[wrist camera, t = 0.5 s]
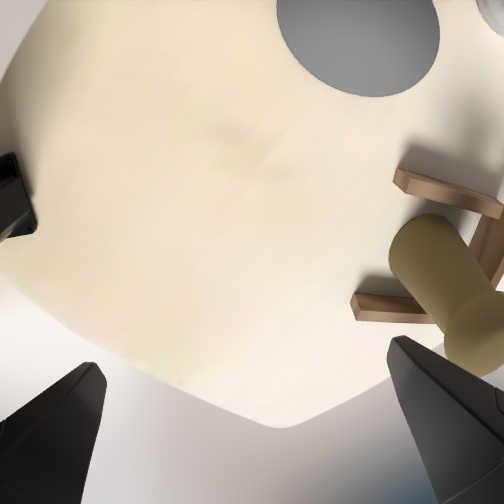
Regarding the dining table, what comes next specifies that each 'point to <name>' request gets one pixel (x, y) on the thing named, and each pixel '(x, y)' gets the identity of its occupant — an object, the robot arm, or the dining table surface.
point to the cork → (451, 291)
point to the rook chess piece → (493, 14)
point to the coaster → (362, 42)
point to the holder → (482, 246)
